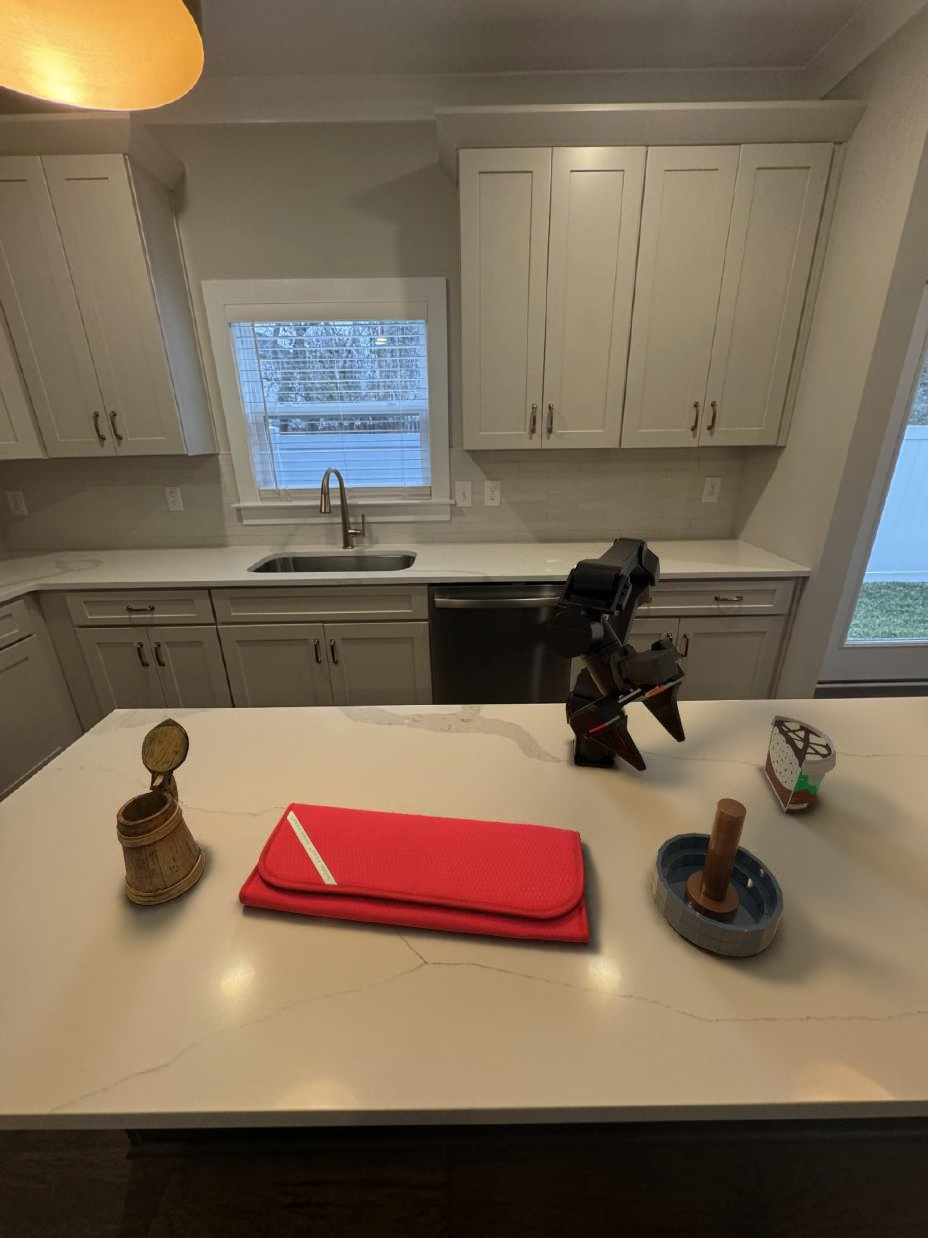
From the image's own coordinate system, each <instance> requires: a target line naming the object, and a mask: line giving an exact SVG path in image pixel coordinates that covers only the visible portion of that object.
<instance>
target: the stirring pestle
mask: <svg viewBox="0 0 928 1238" xmlns="http://www.w3.org/2000/svg"><path fill="white" fill-rule="evenodd" d="M746 816H747V808H746V807H745V806H744V804H743V803H741V802H740V801H738V800H736V799H734V798H729V797H728V798H727V797H725V798H721V799H719V800H718V802H717V805H716V810H715V814H714V818H713V824H712V827H711V832H710V835H711V837H710V841H709V846H708V850H707V855H706V860H705V864H704V869H703V871H698V872H695V873H693V874H691V875H690V876H689V878H688V880H687V884H686V890H685V894H686V898H687V900H688V902H689V904H690V905H691V906H692V908H693V909H694V910H695V911H697V912H698V913H700V914H701V915H703V916H705V917H707V918H710V919H712V920H715V921H727V920H730V919H732V918H733V917H734V916H735V915H736V913H737V909H738V905H739V896H738V893H737V891H736V889H735V888H734V886H733V885H732V884H731V883H730V878H731V873H732V869H733V865H734V861H735V857H736V853H737V849H738V845H739V846H740V841H741V836H742V833H743V829H744V824H745V820H746V818H747V817H746Z"/></svg>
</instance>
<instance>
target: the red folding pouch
mask: <svg viewBox="0 0 928 1238" xmlns="http://www.w3.org/2000/svg"><path fill="white" fill-rule="evenodd" d="M585 878H586V877H585V863H584V853H583V845H582V838H581V832H579V831H577V830H573V829H565V828H558V827H552V826H548V825H539V824H528V823H519V822H518V823H517V822H516V823H515V822H514V823H513V822H503V821H492V820H480V819H470V818H459V817H443V816H432V815H425V814H424V815H422V814H411V813H402V812H401V813H400V812H390V811H389V812H388V811H378V810H367V809H357V808H347V807H340V806H329V805H319V804H308V803H299V802H298V803H297V802H291V803H290V804H288V806H287V807H286V809H285V810H284V812H283V813H282V816H281V817H280V819H279V820H278V822H277V823H276V825H275V827H274V828H273V830H272V831H271V833H270V835H269V837H268V838H267V840H266V842H265V844H264V846H263V848H262V850H261V852H260V855H259V857H258V862H257V863H256V864H255V866H254V868H253V869H252V871H251V872H250V873H249V876H247V878H246V880H245V881H244V882H243V884H242V886H241V887H240V890H239V892H238V901H239V902H240V904H242V905H246V906H250V907H255V908H263V909H270V910H276V911H283V912H289V913H297V914H303V915H309V916H317V917H326V918H334V919H342V920H350V921H358V922H365V923H366V922H367V923H379V924H380V923H381V924H390V925H396V926H397V925H398V926H405V927H412V928H420V929H429V930H431V929H432V930H439V931H446V932H455V933H465V934H476V935H489V936H496V937H503V938H513V939H529V940H542V941H558V942H569V943H571V942H572V943H573V942H574V943H585V944H589V943H590V941H591V934H590V927H589V918H588V915H587V914H588V913H587V906H586V898H585V886H586V885H585V880H586V879H585Z"/></svg>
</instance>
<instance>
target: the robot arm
mask: <svg viewBox="0 0 928 1238" xmlns="http://www.w3.org/2000/svg"><path fill="white" fill-rule="evenodd" d="M660 575H661V562H660V557H658V555H657V554H655V552H653V551H652V550H651V549H650V548H648V541H646V540H644V539H642V538H634V537H622V536H620V537H618V538H617V537H616V538H614V541H613V545H611V546H610V547H609V548H608V549H607V550H606V551H605V552H604V553H603V554H602V555H601V556H600V557H598V558H585V559H581V560H579V561H577V562H576V563H575V565H574V567H572V568H571V569H570V571H569V573H568V576H567V578H566V581H565V583H564V585H563V588H562V591H561V593H560V595H559V598H558V600H557V604H556V605H557V607H560V608H565V611H562V612H560V613H558V614H556V615H555V616H553V617H552V618H551V620H549V623H548V625H547V627H546V630H545V637H546V638H545V639H546V642H547V645H548V647H549V648H550V650H551V651H552V652H553V653H554V654H556V655H557V656H559V657H561V658H564V659H574V658H578V657H579V658H580V660H581V662H582V663H583V665H584V667H583V668H581V669H580V672H579V673H578V674H577V676H576V681H575V683H574V686H573V688H572V690H570V691H569V692H568V694H567V697H566V701H565V718H566V724H567V725H569V727H570V728H571V730H572V732H573V734H574V738H573V739H572V756H573V764H574V765H578V766H587V767H588V766H589V767H601V768H609V769H612V768H614V767H615V762H614V761H615V760H614V759H616V758H617V756H618V757H619V758H620V759H622V760H623V761H625V762H626V763H627V764H629V765H630V766H631V767H633V768H634V769H636V770H637V771H638V772H644V771H646V770H647V769H648V768H647V765H646V762H645V760H644V758H643V756H642V754H641V752H640V750H639V749H638V746H637V745H636V742H635V740H634V739H633V737H632V736H631V733H630V731H629V730H628V722H629V721H628V718H629V716H628V714H627V711H626V708H625V706H626V705H629V704H630V703H632V702H633V701H635V700H637V699H638V698H640V697H645V698H644V699H642V700H641V701H640V702H641V703H642V704H643V706H645V708H646V709H647V710H648V711H649V712H650V713H651V714H652V716H653V717H654V718H655V719H656V720H657V722H658V723H659V724H660V725H661V726H662V727H663V728H664V729H665V730H666V732H667V733H668V734H669V735H670V736H671V737H672V738H673V739H674V740H675V741H676V742H677V743H683V742H685V741H686V735H685V730H684V727H683V723H682V719H681V715H680V710H679V705H678V699H677V698H678V694H679V691H680V687H681V686H682V685H683V680H680V679H682V678H683V677H685V676H686V674H685V673H684V671H683V669H682V667H681V666H680V664H679V663H678V661H679V660H680V659H681V658H682V654H681V653H680V651H678V649H677V647H676V645H674V643H673V642H672V641H671V640H670V639H669V638H661V639H657V640H656V641H654V642H652V643H651V646H650V649H646V650H644V651H639V652H638V651H637V650H636V649H635V647H634V646H633V645H631V644H630V643H628V642H629V639H630V635H631V632H632V629H633V626H634V621H635V618H636V616H637V615H636V614H637V612H638V609H639V608H640V607H641V606H643V604H645V603H647V602H648V601H649V600H650V599H651V596H652V593H653V590H654V588H657V587H658V584H659V581H660ZM605 615H606V617H605ZM679 680H680V681H679ZM677 681H678V682H677ZM675 682H676V683H675ZM631 690H632V691H631Z"/></svg>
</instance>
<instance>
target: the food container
mask: <svg viewBox="0 0 928 1238" xmlns="http://www.w3.org/2000/svg"><path fill="white" fill-rule="evenodd" d="M770 725H771V726H772V727H771V733H770V738H769V743H768V747H767V753H766V758H765V763H764V767H763V772H764V774H765V776H766V778H767V780H768V782H769V783H770V786H771V787H772V789H773V792H774V793H775V795H776V797H777V799H778V801H779V803H780V805H781V807H782V809H783V810H784V812H785V813H787V814H788V813H789V814H795V813H796V814H797V813H802V812H805V811H807V810H808V809H810V808H811V806H812V804H813V802H814V799H815V798H816V795H817V793H818V791H819V788H820V786H821V784H822V783H823V780H824V778H825V775H826V774H827V773H830V772H831V771H833V770H834V768H835V767H836V765H837V751H836V747H835V744H834V742H833V741H832V739H831V738H830V737H829V736H828V735H827V734H826V733H825V732H823V731H822V730H821V729H819V728H817V727H815V726H814V725H811V724H809V723H807V722H805V721H802V720H799V719H797V718H793V717H788V716H783V715H778V714H777V715H776V714H775V715H774V717H772V721H771V724H770Z"/></svg>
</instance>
